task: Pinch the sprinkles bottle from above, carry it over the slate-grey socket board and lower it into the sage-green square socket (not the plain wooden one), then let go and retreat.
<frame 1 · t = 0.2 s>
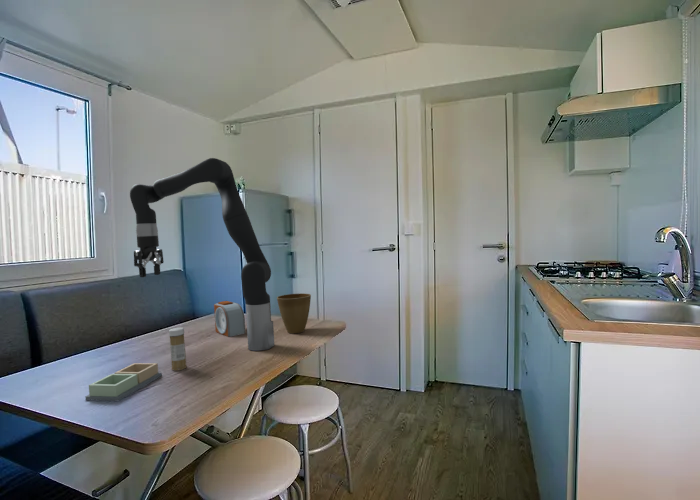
hand: (150, 275, 148), 29 cm above the table, tool pointing down, fingers open, 8 cm apart
socket board: (126, 386, 110), on the table
alarm clock: (229, 332, 169), on the table
plant pot: (295, 331, 165), on the table
sprinkles bottle: (179, 369, 123), on the table
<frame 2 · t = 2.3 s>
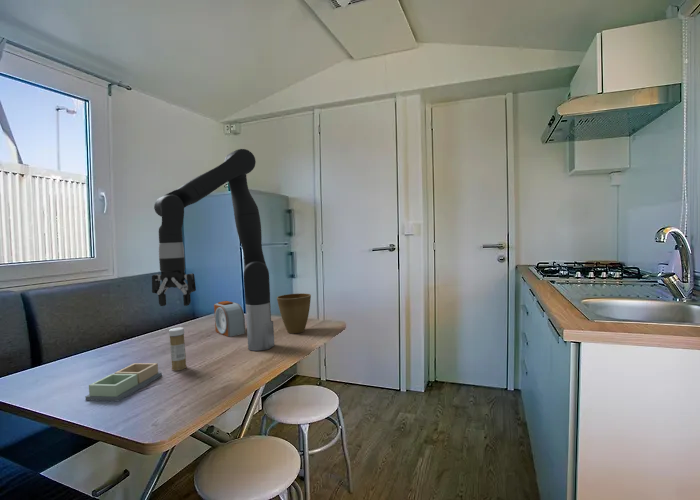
hand: (174, 305, 123), 21 cm above the table, tool pointing down, fingers open, 8 cm apart
nothing on the table moved.
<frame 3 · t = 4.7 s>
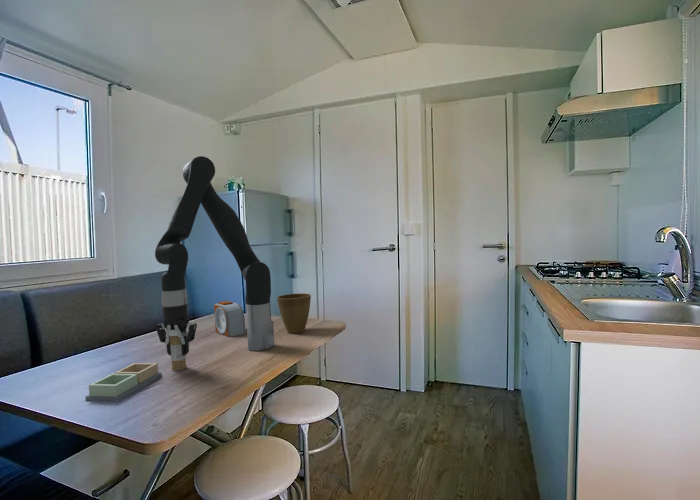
hand: (178, 354, 123), 5 cm above the table, tool pointing down, fingers closed on sprinkles bottle, 4 cm apart
sprinkles bottle: (179, 369, 123), on the table, touching gripper
everything else where it was.
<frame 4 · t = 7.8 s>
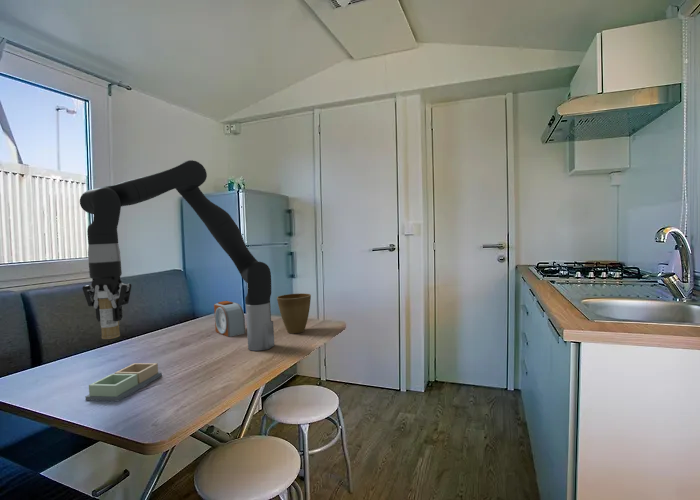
hand: (109, 320, 105), 21 cm above the table, tool pointing down, fingers closed on sprinkles bottle, 4 cm apart
sprinkles bottle: (110, 338, 105), point 16 cm above the table, touching gripper
everything else where it was.
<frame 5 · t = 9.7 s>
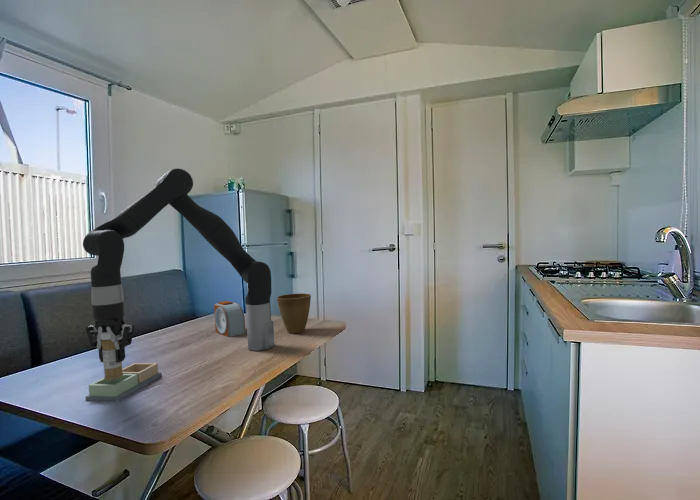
hand: (112, 361, 105), 9 cm above the table, tool pointing down, fingers closed on sprinkles bottle, 4 cm apart
sprinkles bottle: (113, 378, 105), point 4 cm above the table, touching gripper
everything else where it was.
when the fingers open (7 cm above the table, at t = 11.0 s): sprinkles bottle drops 1 cm, resting on socket board.
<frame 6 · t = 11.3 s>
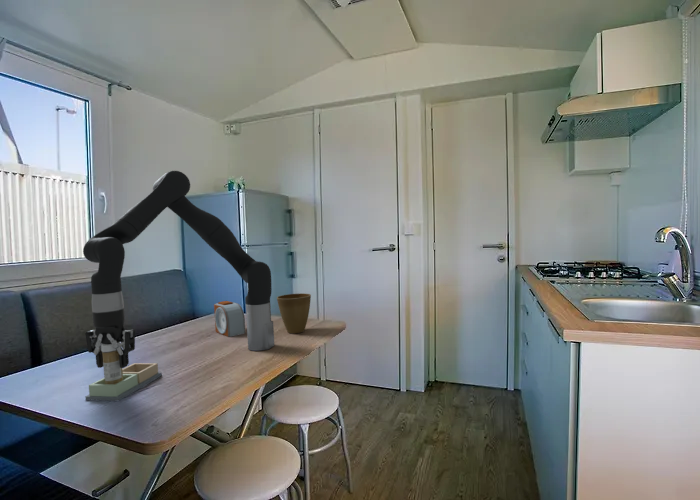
hand: (112, 366, 105), 8 cm above the table, tool pointing down, fingers open, 6 cm apart
sprinkles bottle: (114, 390, 105), point 1 cm above the table, touching socket board
everything else where it was.
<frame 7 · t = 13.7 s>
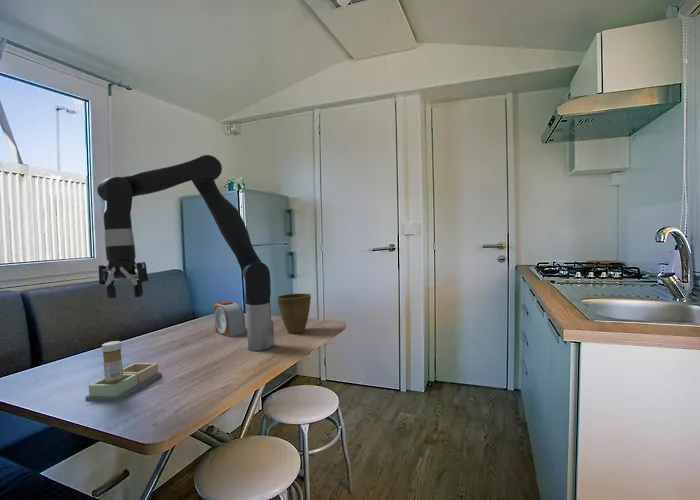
hand: (125, 297, 113), 26 cm above the table, tool pointing down, fingers open, 8 cm apart
nothing on the table moved.
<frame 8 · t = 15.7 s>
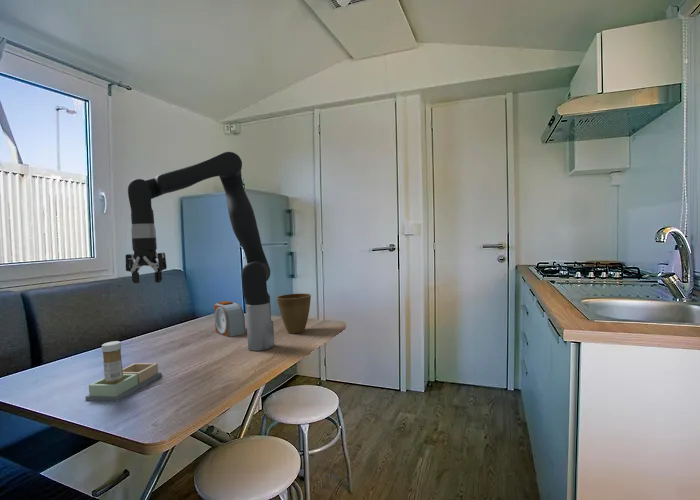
hand: (147, 282, 131), 28 cm above the table, tool pointing down, fingers open, 8 cm apart
nothing on the table moved.
at the end: sprinkles bottle 0.1 cm from the target spot, point 0.8 cm above the table; sprinkles bottle tilted 0°; the gripper is holding nothing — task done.
